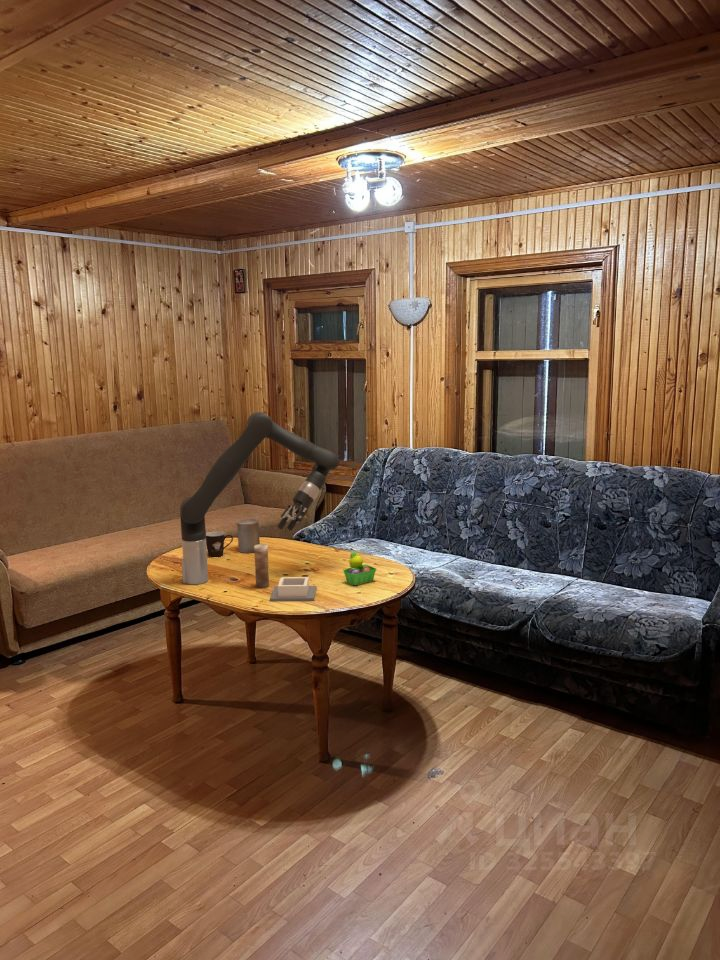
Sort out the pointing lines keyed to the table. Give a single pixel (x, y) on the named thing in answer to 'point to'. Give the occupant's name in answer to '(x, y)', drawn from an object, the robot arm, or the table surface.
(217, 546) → the coffee mug
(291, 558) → the table surface
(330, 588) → the table surface
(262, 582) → the walnut post
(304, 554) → the table surface
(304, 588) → the post well
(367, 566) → the fruit basket
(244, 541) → the pillar candle
